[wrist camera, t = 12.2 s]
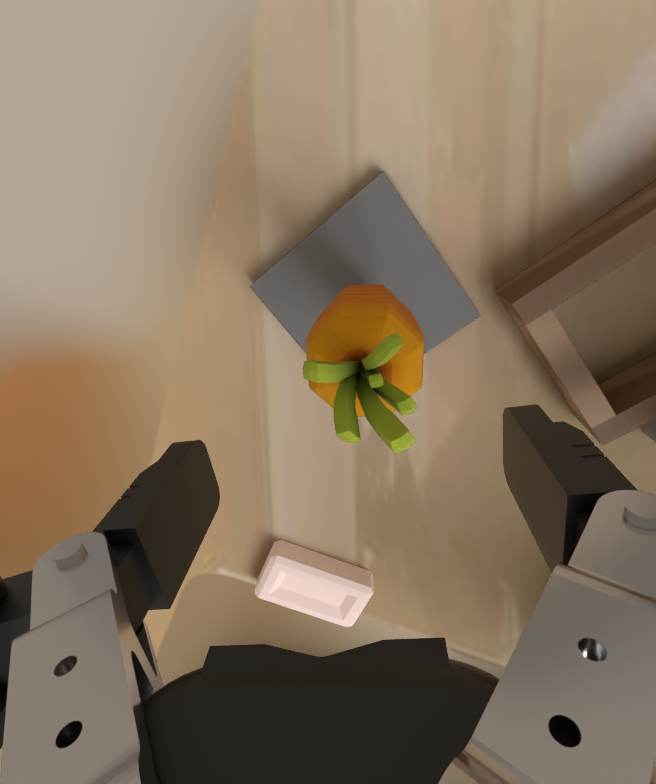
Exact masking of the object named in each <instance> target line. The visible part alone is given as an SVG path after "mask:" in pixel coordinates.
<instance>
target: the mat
mask: <svg viewBox="0 0 656 784" xmlns="http://www.w3.org/2000/svg"><path fill="white" fill-rule="evenodd" d="M371 284H382V285H384V286H385V287H386V288H387V289H388V290H389V291H390V292H391V293H392V294H393V295H394V296H395V297H396V298H397V299H398V300H399V301H400V302H402V303H403V304H404V305H405V306H406V307H407V308H408V309H409V310H410V311H411V312H412V314H413V316H414V317H415V319H416V320H417V322H418V324H419V326H420V328H421V330H422V333H423V335H424V353H426V352H427V351H429V350H430V349H432V348H433V347H435V346H436V345H438V344H439V343H441V342H442V341H444V340H445V339H447V338H448V337H450V336H451V335H453V334H454V333H456V332H457V331H459V330H460V329H462V328H463V327H465V326H466V325H468V324H469V323H471V322H472V321H474V320H475V319H477V318H478V317H480V314H479V313H478V311H477V310H476V308H475V307H474V305H473V304H472V302H471V301H470V299H469V298H468V296H467V295H466V293H465V292H464V290H463V289H462V287H461V286H460V284H459V283H458V281H457V280H456V278H455V277H454V275H453V274H452V272H451V271H450V269H449V268H448V266H447V265H446V263H445V262H444V260H443V259H442V257H441V256H440V255H439V253H438V252H437V250H436V249H435V247H434V246H433V244H432V243H431V241H430V240H429V238H428V237H427V235H426V234H425V232H424V231H423V229H422V228H421V226H420V225H419V223H418V222H417V220H416V219H415V217H414V216H413V214H412V213H411V211H410V210H409V208H408V207H407V205H406V204H405V202H404V201H403V199H402V198H401V197H400V195H399V194H398V192H397V191H396V189H395V188H394V186H393V185H392V183H391V182H390V180H389V179H388V177H387V176H386V174H385V173H384V171H383V172H382V173H380V174H379V175H378V176H377V177H376V178H375V179H374V180H372V181H371V182H370V183H369V184H368V185H367V186H365V187H364V188H363V189H362V190H361V191H360V192H358V193H357V194H356V195H355V196H354V197H353V198H351V199H350V200H349V201H348V202H347V203H346V204H345V205H343V206H342V207H341V208H340V209H339V210H338V211H336V212H335V213H334V214H333V215H332V216H331V217H329V218H328V219H327V220H326V221H325V222H324V223H322V224H321V225H320V226H319V227H318V228H317V229H316V230H314V231H313V232H312V233H311V234H310V235H309V236H307V237H306V238H305V239H304V240H303V241H302V242H300V243H299V244H298V245H297V246H296V247H295V248H294V249H292V250H291V251H290V252H289V253H288V254H287V255H285V256H284V257H283V258H282V259H281V260H280V261H278V262H277V263H276V264H275V265H274V266H273V267H271V268H270V269H269V270H268V271H267V272H266V273H265V274H263V275H262V276H261V277H260V278H259V279H258V280H256V281H255V282H254V283H253V284H252V285H251V286H250V288H251V289H252V290H253V291H254V292H255V293H256V295H257V296H258V297H259V298H260V299H261V301H262V302H263V303H264V304H265V305H266V306H267V308H268V309H269V310H270V311H271V312H272V314H273V315H274V316H275V317H276V318H277V319H278V321H279V322H280V323H281V324H282V325H283V326H284V328H285V329H286V330H287V331H288V332H289V334H290V335H291V336H292V337H293V338H294V339H295V341H296V342H297V343H298V344H299V345H300V346H301V348H302V349H303V350H304V351H305V352H306V354H307V350H306V338H307V336H308V334H309V332H310V330H311V328H312V326H313V324H314V323H315V321H316V320H317V318H318V317H319V315H320V314H321V313H322V312H323V311H324V309H325V308H326V307H327V306H328V305H329V304H330V303H331V302H332V301H333V300H334V299H335V298H336V297H337V296H338V294H339V293H340V292H341V291H342V290H343V289H344V288H345V287H347V286H349V285H371Z"/></svg>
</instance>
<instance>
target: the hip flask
mask: <svg viewBox="0 0 656 784" xmlns="http://www.w3.org/2000/svg"><path fill="white" fill-rule="evenodd" d="M641 429H642V430H643V432H644V433H645V434H646V435H648V436H649V437H650V438H651V439H652V440H653V441H654V442H656V419H654V420H652V421H650V422H648V423H646V424H644V425H642V426H641Z"/></svg>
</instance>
